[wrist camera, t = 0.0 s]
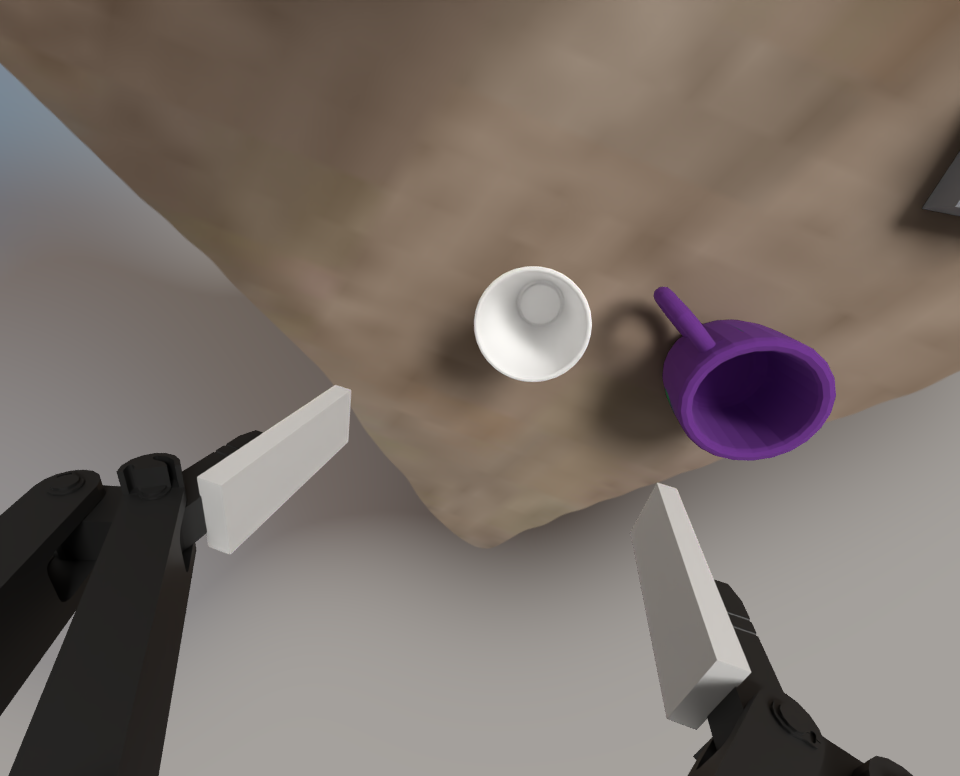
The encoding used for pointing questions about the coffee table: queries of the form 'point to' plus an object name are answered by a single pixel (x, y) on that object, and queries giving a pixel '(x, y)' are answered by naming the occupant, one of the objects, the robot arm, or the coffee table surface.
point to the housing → (947, 191)
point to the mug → (743, 385)
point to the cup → (532, 324)
